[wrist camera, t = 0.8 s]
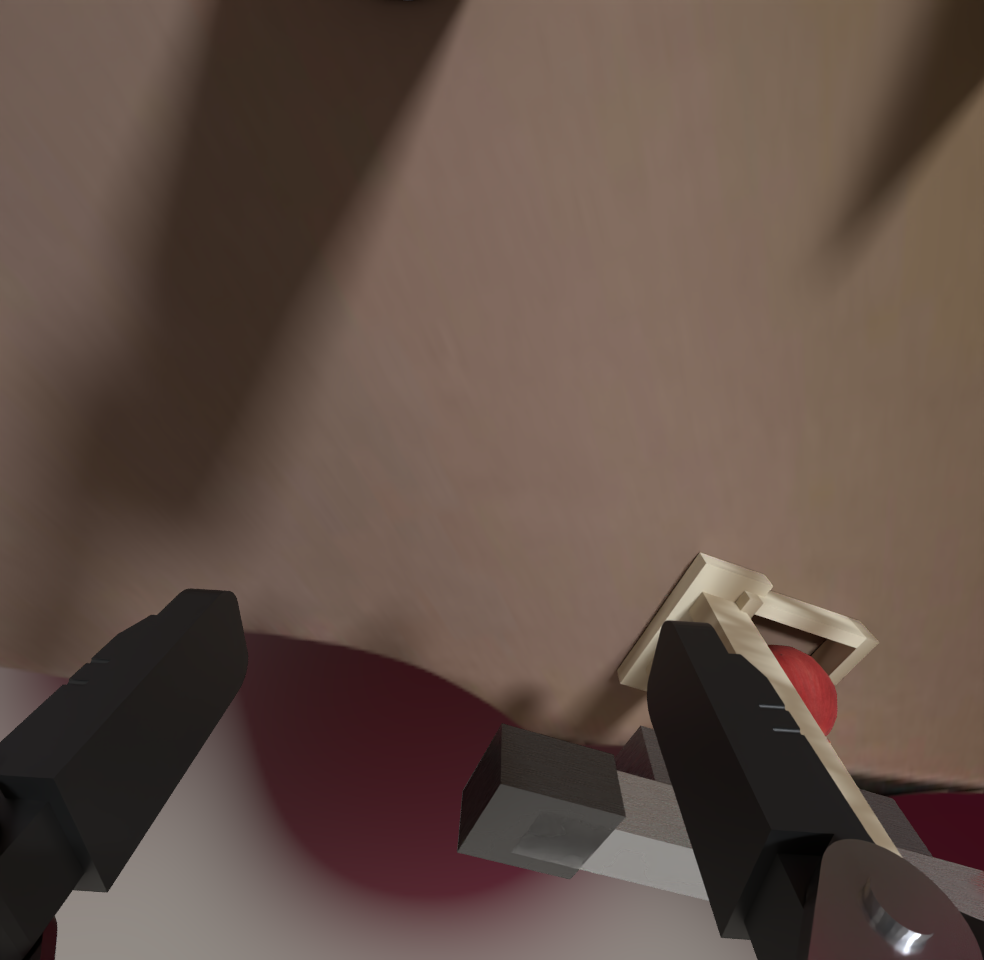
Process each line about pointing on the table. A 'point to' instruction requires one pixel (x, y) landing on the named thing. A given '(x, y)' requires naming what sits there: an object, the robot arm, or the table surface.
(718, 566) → the press stand
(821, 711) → the onion
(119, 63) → the table surface
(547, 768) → the lever
